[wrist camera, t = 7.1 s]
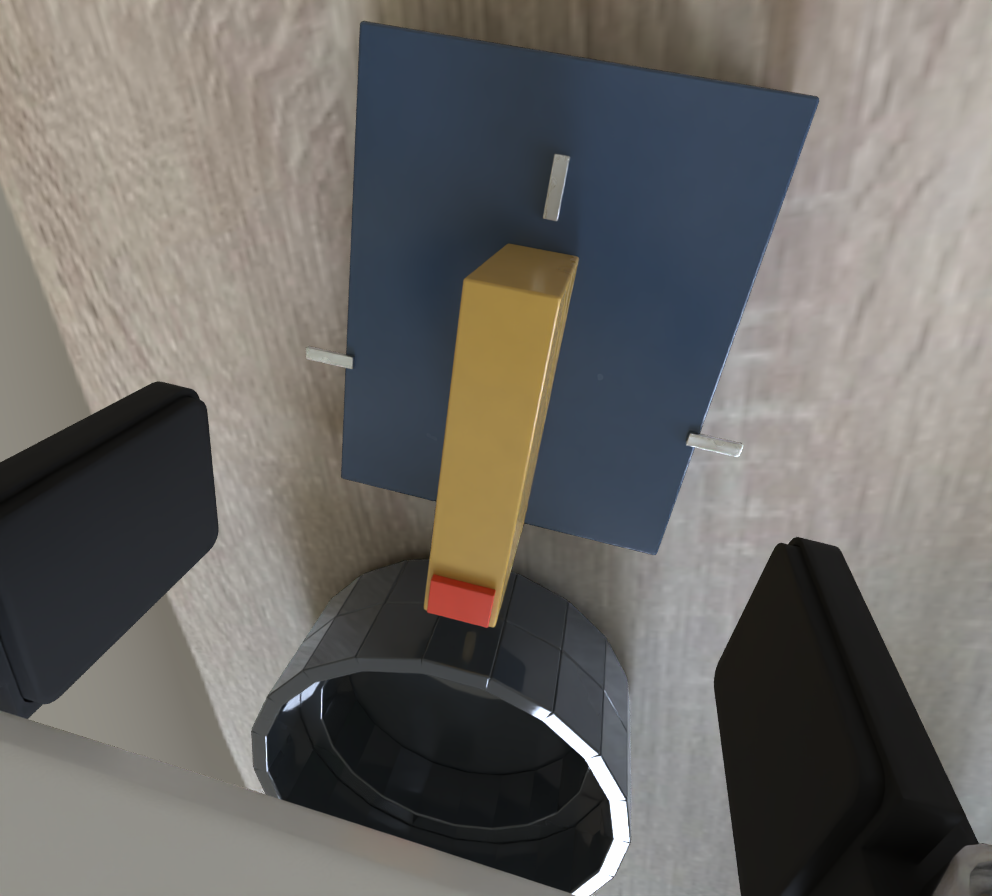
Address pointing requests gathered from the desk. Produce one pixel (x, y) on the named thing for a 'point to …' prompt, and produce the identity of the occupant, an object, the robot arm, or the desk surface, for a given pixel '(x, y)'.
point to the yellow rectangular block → (495, 425)
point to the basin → (459, 729)
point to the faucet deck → (563, 229)
